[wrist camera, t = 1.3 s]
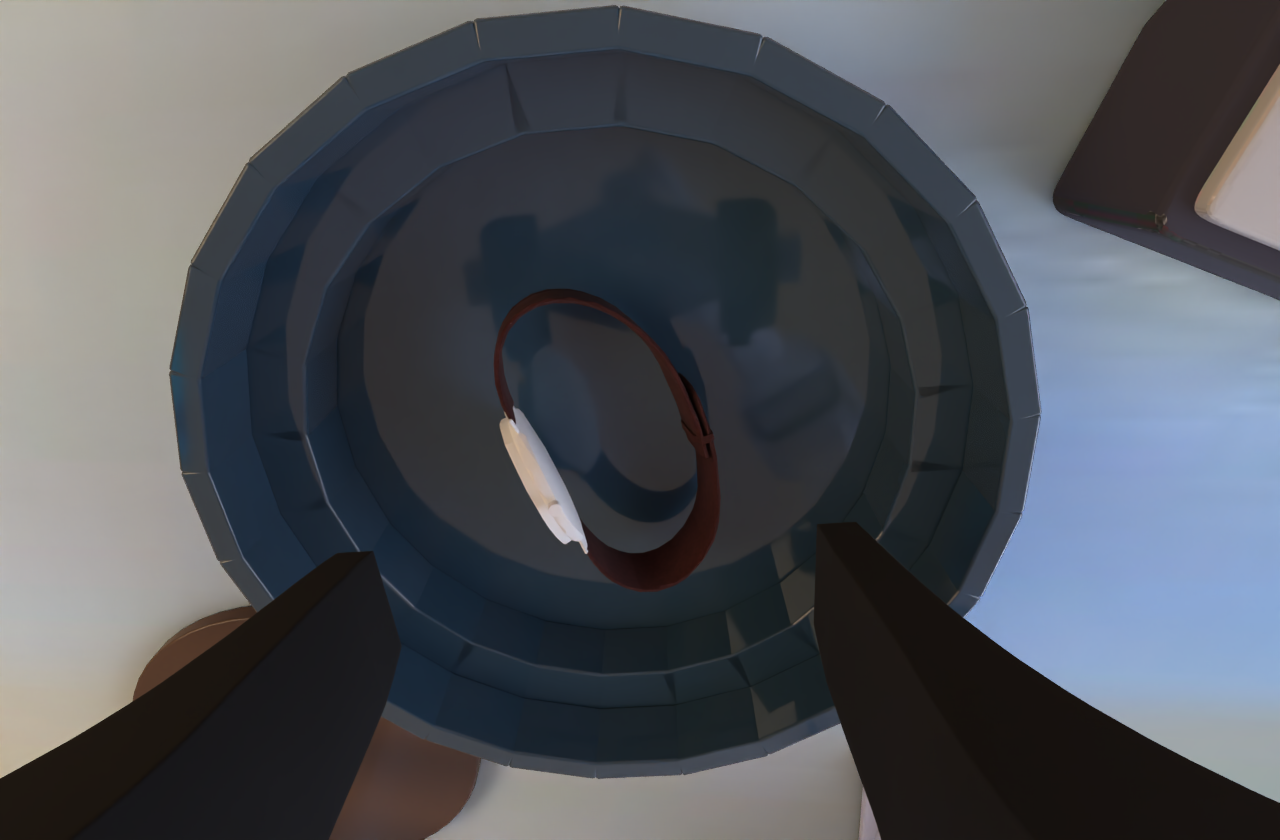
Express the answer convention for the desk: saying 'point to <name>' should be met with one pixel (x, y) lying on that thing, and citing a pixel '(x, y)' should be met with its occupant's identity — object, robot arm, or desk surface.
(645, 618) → the bowl
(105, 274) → the desk surface
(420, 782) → the coaster
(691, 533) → the watch
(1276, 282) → the calculator
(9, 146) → the desk surface
